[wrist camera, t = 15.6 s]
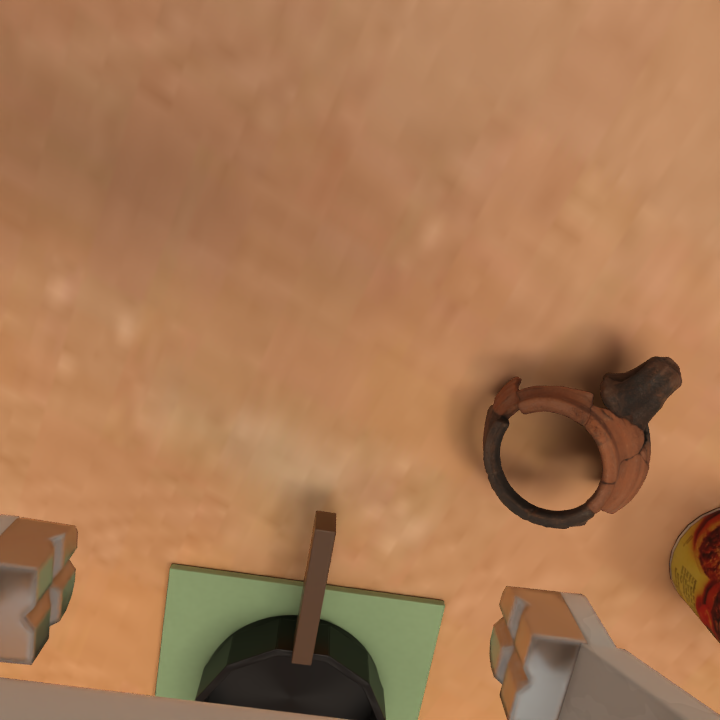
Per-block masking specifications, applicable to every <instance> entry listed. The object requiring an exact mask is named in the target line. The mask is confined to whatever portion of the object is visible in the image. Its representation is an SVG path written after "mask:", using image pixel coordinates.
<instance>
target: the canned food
mask: <svg viewBox="0 0 720 720" xmlns="http://www.w3.org/2000/svg"><path fill="white" fill-rule="evenodd" d="M669 567H670V577H671V580H672V582H673V584H674V587H675V589H676V591H677V592H678V593H679V594H680V596H681V597H682V598H683V599H684V600H685V602H686V603H687V604H688V605H689V606H690V608H691V609H692V610H693V611H694V613H695V614H696V615H697V616H698V617H699V619H700V620H701V621H702V622H703V624H704V625H705V626H706V627H707V628H708V630H709V631H710V632H711V633H712V635H713V636H714V637H715V638H716V639H717V641H718V642H719V643H720V508H718V509H715V510H713V511H711V512H708V513H706V514H704V515H702V516H700V517H699V518H698V519H696V520H695V521H694V522H692V523H691V524H690V525H689V526H688V527H687V528H686V529H685V530H684V531H683V533H682V534H681V535H680V536H679V537H678V539H677V541H676V543H675V545H674V547H673V549H672V553H671V558H670V563H669Z"/></svg>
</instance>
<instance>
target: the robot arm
mask: <svg viewBox="0 0 720 720" xmlns="http://www.w3.org/2000/svg"><path fill="white" fill-rule="evenodd" d="M77 541H78V531H77V528H76V526H74V525H68V524H62V523H55V522H49V521H43V520H36V519H30V518H24V517H21V518H20V517H19V516H12V515H3V514H0V662H6V663H17V664H27V665H32V663H33V662H34V660H35V659H36V657H37V655H38V654H39V652H40V651H41V649H42V648H43V646H44V645H45V643H46V642H47V640H48V638H49V626H51V625H53V624H55V623H57V622H59V621H60V619H61V618H62V616H63V614H64V613H65V611H66V609H67V606H68V604H69V601H70V598H71V596H72V592H73V587H74V582H75V571H76V569H75V567H74V566H73V564H72V563H71V561H70V560H69V559H70V557H71V556H72V554H73V553H74V551H75V550H76V549H77ZM499 606H500V609H501V611H502V614H503V617H502V618H501V619H500V620H499V621H498V622H497V623H495V624H494V626H493V631H492V635H491V640H490V663H491V668H492V672H493V675H494V677H495V678H496V679H497V680H498V681H499V682H500V683H501V684H502V688H501V691H500V698H501V701H502V704H503V707H504V710H505V713H506V717H507V720H720V715H719V714H717V713H716V712H715V711H713V710H712V709H710V708H709V707H707V706H706V705H704V704H703V703H701V702H700V701H699V700H697V699H696V698H694V697H693V696H691V695H690V694H688V693H687V692H686V691H684V690H683V689H681V688H680V687H678V686H677V685H675V684H674V683H673V682H671V681H670V680H668V679H667V678H665V677H664V676H662V675H661V674H660V673H658V672H657V671H655V670H654V669H652V668H651V667H649V666H648V665H647V664H645V663H644V662H642V661H641V660H639V659H638V658H636V657H635V656H634V655H632V654H631V653H629V652H628V651H626V650H625V649H619V648H616V646H615V644H614V643H613V641H612V639H611V638H610V636H609V634H608V633H607V631H606V629H605V628H604V626H603V624H602V623H601V621H600V619H599V618H598V616H597V614H596V613H595V611H594V609H593V608H592V606H591V604H590V603H589V601H588V599H587V598H586V597H585V596H584V595H582V594H577V593H567V592H556V591H547V590H538V589H529V588H520V587H511V586H506V587H505V589H504V591H503V593H502V596H501V600H500V603H499ZM0 720H349V719H341V718H333V717H324V716H316V715H308V714H300V713H291V712H283V711H275V710H266V709H258V708H250V707H241V706H233V705H225V704H217V703H208V702H200V701H192V700H183V699H175V698H167V697H158V696H150V695H142V694H134V693H125V692H117V691H109V690H100V689H92V688H84V687H75V686H67V685H59V684H51V683H42V682H34V681H26V680H17V679H9V678H1V677H0Z"/></svg>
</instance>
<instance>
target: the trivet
mask: <svg viewBox="0 0 720 720" xmlns="http://www.w3.org/2000/svg"><path fill="white" fill-rule="evenodd" d="M303 583H304V582H302V581H295V580H287V579H280V578H273V577H266V576H258V575H251V574H244V573H236V572H229V571H222V570H214V569H207V568H200V567H192V566H185V565H178V564H172V565H171V567H170V571H169V580H168V589H167V597H166V606H165V615H164V623H163V632H162V641H161V649H160V658H159V667H158V675H157V684H156V693H155V696H158V697H167V698H175V699H183V700H192V701H195V698H196V695H197V691H198V687H199V684H200V680H201V677H202V673H203V669H204V667H205V665H206V664H207V663H208V662H209V660H210V659H211V657H212V655H213V654H214V652H215V651H216V650H217V648H218V647H219V646H220V644H222V643H223V642H224V641H225V640H226V639H227V638H228V637H229V636H230V635H232V634H233V633H234V632H236V631H237V630H239V629H241V628H242V627H244V626H246V625H248V624H250V623H253V622H255V621H258V620H261V619H265V618H269V617H275V616H281V615H298V611H299V606H300V600H301V594H302V589H303ZM444 608H445V604H444V601H441V600H434V599H427V598H419V597H412V596H405V595H397V594H390V593H383V592H375V591H368V590H361V589H353V588H346V587H339V586H331V585H326V589H325V594H324V599H323V605H322V610H321V615H320V619H321V620H325V621H328V622H330V623H332V624H335V625H337V626H339V627H341V628H342V629H344V630H346V631H347V632H349V633H350V634H351V635H353V636H354V637H355V638H356V639H357V640H358V641H359V642H360V643H361V644H362V645H363V646H364V647H365V648H366V650H367V651H368V652H369V654H370V655H371V657H372V659H373V661H374V663H375V665H376V668H377V671H378V674H379V680H380V682H381V684H382V687H383V689H384V701H385V712H386V720H418V716H419V712H420V708H421V704H422V700H423V695H424V691H425V687H426V683H427V679H428V675H429V671H430V666H431V662H432V658H433V654H434V650H435V646H436V641H437V637H438V633H439V629H440V625H441V621H442V617H443V612H444Z"/></svg>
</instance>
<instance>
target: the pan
mask: <svg viewBox="0 0 720 720" xmlns="http://www.w3.org/2000/svg"><path fill="white" fill-rule="evenodd" d="M335 535H336V513H330V512H323V511H316V515H315V520H314V526H313V532H312V538H311V543H310V549H309V555H308V560H307V566H306V572H305V577H304V583H303V589H302V594H301V600H300V606H299V611H298V615H281V616H275V617H269V618H265V619H261V620H258V621H255V622H253V623H250V624H248V625H246V626H244V627H242V628H241V629H239V630H237V631H236V632H234V633H233V634H232V635H230V636H229V637H228V638H227V639H226V640H225V641H224V642H223V643H222V644H220V646H219V647H218V648H217V650H216V651H215V652H214V654H213V655H212V657H211V659H210V660H209V662H208V663H207V664H206V665H205V667H204V669H203V673H202V677H201V680H200V684H199V687H198V691H197V695H196V698H195V701H200V702H208V703H217V704H225V705H233V706H241V707H250V708H258V709H266V710H275V711H283V712H291V713H300V714H308V715H316V716H324V717H333V718H341V719H349V720H386V712H385V701H384V689H383V687H382V684H381V682H380V680H379V674H378V671H377V668H376V665H375V663H374V661H373V659H372V657H371V655H370V654H369V652H368V651H367V650H366V648H365V647H364V646H363V645H362V644H361V643H360V642H359V641H358V640H357V639H356V638H355V637H354V636H353V635H351V634H350V633H349V632H347V631H346V630H344V629H342V628H341V627H339V626H337V625H335V624H332V623H330V622H328V621H325V620H321V619H320V615H321V610H322V605H323V599H324V594H325V589H326V583H327V578H328V573H329V567H330V562H331V556H332V551H333V546H334V540H335Z"/></svg>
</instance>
